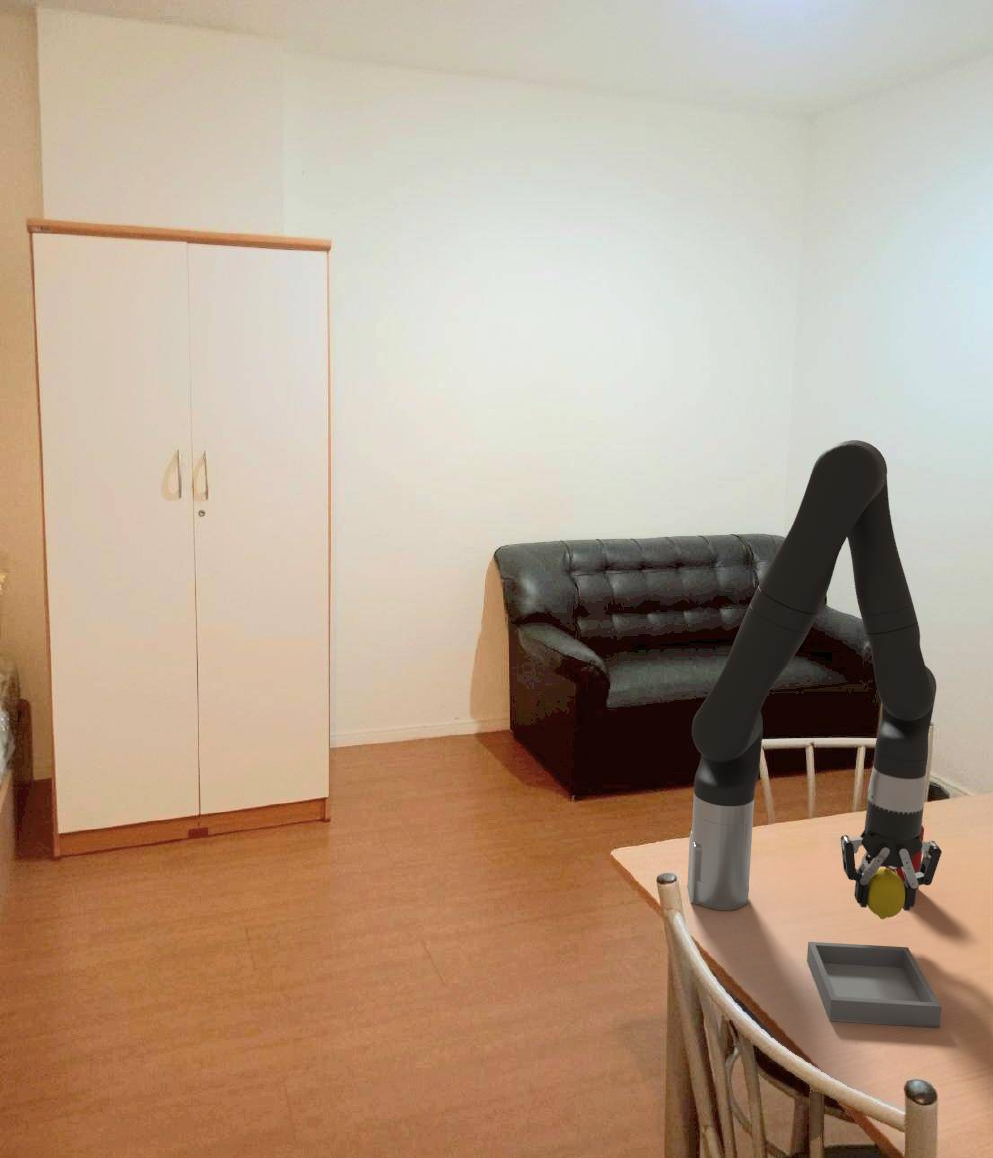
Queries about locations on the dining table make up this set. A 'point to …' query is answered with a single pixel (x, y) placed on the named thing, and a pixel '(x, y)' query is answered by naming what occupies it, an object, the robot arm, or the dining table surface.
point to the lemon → (885, 893)
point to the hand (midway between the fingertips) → (883, 906)
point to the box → (872, 985)
